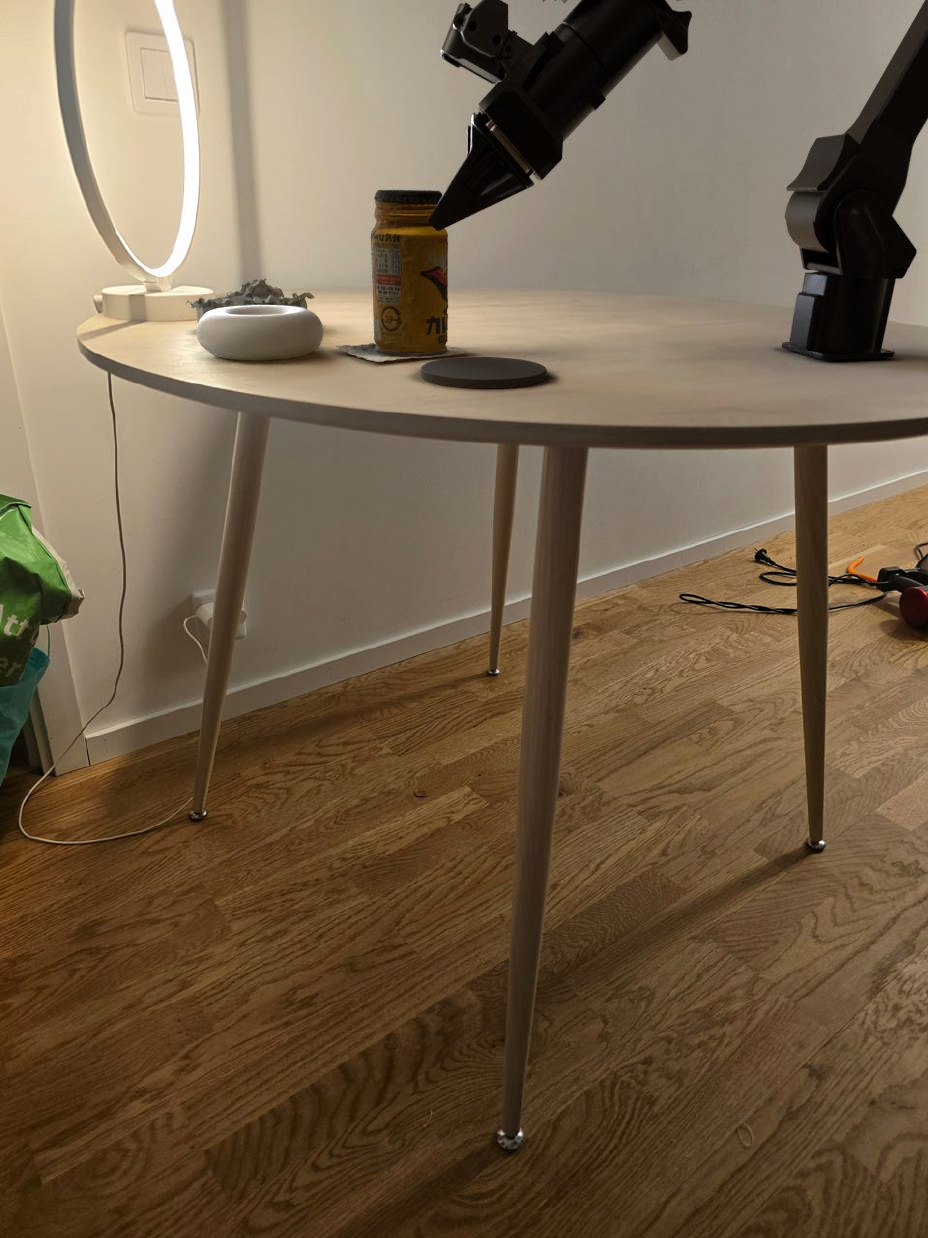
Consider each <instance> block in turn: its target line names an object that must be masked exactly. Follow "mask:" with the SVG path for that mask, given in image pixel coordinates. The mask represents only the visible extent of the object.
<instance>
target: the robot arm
mask: <svg viewBox="0 0 928 1238" xmlns="http://www.w3.org/2000/svg"><path fill="white" fill-rule="evenodd" d="M546 1H547V0H541V2H542V3H545V2H546ZM556 1H557V0H554V2H556ZM560 1H561V2H562V3H563V4H566V3H567V2H568V1H569V0H560ZM679 1H682V0H676V2H679ZM692 18H693V12H692V11H691V10H683V11H680V10H675V9H673V7H671V6H670V4H669V3H668V1H667V0H580V1H579V2H578V3H577V4H576V5H575V7H573V9H572V10H571V11H570V12H569V13H568V14H567V15H566V17H565V18H563V20H562V21H561V22H560V23H559V24H558V26H557V27H556V28H555V29H554V30H551V32H550V33H548V31H545V32H544V33H543V34H542V35H541V36H540V37H539V38H538V40H537V41H535V42H534V44H532V43H531V42H529V41H528V40H526V39H524V38H522V37H521V36H520V35H519V33H518V31H515V30H514V29H512V30H511V29H509V4H508V3H506V2H505V1H503V0H480V2H478V3H477V4H476V5H475V6H474V7H471V4H469V3H468V2H467V1H465V2H464V3H462V2H461V3H459V4H458V6H457V9H456V10H455V14H454V15H453V18H452V20H451V24H450V26H449V28H448V31H447V33H446V36H445V38H444V41H443V43H442V46H441V49H440V53H441V54H440V58H441V59H442V60H444V61H445V62H446V63H448V64H449V65H451V66H454V67H455V68H456V69H458V68H462V69H464V70H466V71H468V72H470V73H471V74H473V75H475V76H477V77H479V78H480V79H482V80H484V81H486V82H488V83H489V84H491V85H493V86H492V88H491V89H490V90H489V91H488V93H486V95H485V96H484V97H483V98H482V99H481V100H480V102H478V103H477V105H476V109H477V110H478V112H477V113H476V112H473V113H472V115H471V117H470V124H468V125H467V128H466V156H465V158H464V160H463V162H462V163H461V165H460V166H459V168H458V169H457V171H456V173H455V175H454V176H453V178H452V179H451V181H450V183H449V184H448V186H447V187H446V189H445V191H444V192H443V193H442V195H443V196H442V198H441V199H440V201H439V202H438V204H437V206H436V207H435V209H434V210H433V212H432V214H431V215H430V217H429V219H428V221H429V223H430V224H431V225H432V227H433V228H434V229H435V230H436V231H440V230H443V229H447V228H449V227H451V226H453V225H455V224H457V223H459V222H461V221H463V220H465V219H467V218H469V217H472V216H473V215H476V214H478V213H479V212H482V211H484V210H486V209H488V208H490V207H492V206H494V205H496V204H499V203H501V202H502V201H505V200H507V199H509V198H511V197H513V196H515V195H517V194H519V193H521V192H524V191H526V190H528V189H530V188H533V186H535V182H534V181H533V179H532V178H531V176H533V177H534V178H535V179H536V180H537V182H542V181H543V180H544V179H545V178H546V177H547V176H548V175H549V174H550V173H551V172H552V171H553V170H554V169H555V167H557V165H558V164H559V163H560V162H561V161H562V160H563V153H564V142H565V141H566V140H567V139H568V138H569V137H570V136H571V135H572V134H573V132H575V130H576V129H577V128H579V126H580V125H581V124H582V123H583V122H584V121H585V120H586V119H587V118H588V117H589V116H590V115H591V114H592V113H594V112H596V111H597V110H598V109H599V108H600V107H601V106H602V104H604V102H606V100H607V97H608V96H609V94H610V93H611V92H612V91H614V89H615V88H616V87H617V86H618V85H620V83H621V82H622V81H623V80H624V79H625V77H626V76H627V75H628V74H630V73H631V71H632V70H633V69H634V68H635V67H636V66H637V65H638V64H639V63H640V62H641V61H642V60H643V58H644V57H645V56H646V55H648V53H649V52H650V51H651V50H652V49H653V48H654V47H655V46H656V45H657V46H658V47H659V49H660V50H661V52H662V53H663V55H664V56H665V57H666V59H668V60H669V61H671V62H672V61H675V60H676V59H678V58H680V57H682V56H684V55H686V54H687V52H688V50H689V27H690V24H691V20H692ZM927 122H928V0H924V1H923V3H922V5H921V6H920V8H919V10H918V12H917V14H916V15H915V17H914V18H913V20H912V22H911V23H910V26H909V28H908V29H907V31H906V32H905V34H904V36H903V38H902V39H901V41H900V43H899V45H898V47H897V48H896V50H895V52H894V54H893V55H892V57H891V59H890V61H889V62H888V64H887V66H886V68H885V69H884V71H883V73H882V74H881V76H880V78H879V80H878V81H877V83H876V85H875V87H874V88H873V91H872V92H871V94H870V96H869V97H868V99H867V101H866V103H865V104H864V106H863V108H862V109H861V111H860V113H859V115H858V117H857V118H856V119H855V120H854V121H853V123H852V124H851V126H849V128H847V130H846V131H845V132H843V133H840V134H833V135H826V136H820V137H816V138H815V140H814V141H813V143H812V144H811V146H810V148H809V150H808V154H807V156H806V159H805V161H804V164H803V166H802V168H801V170H800V172H798V174H797V176H796V178H795V179H794V180H792V182H790V183H789V184H788V185H787V186H786V187H785V190H786V192H792V194H791V196H790V197H789V199H788V202H787V205H786V207H785V212H784V220H785V224H786V230H787V233H788V235H789V237H790V239H791V240H792V242H793V243H795V244H796V245H797V246H798V248H799V254H800V261H801V265H802V269H803V270H806V271H812V272H804V276H803V282H802V289H801V291H799V292H798V293H797V295H796V299H795V305H794V310H793V317H792V323H791V329H790V333H789V334H790V336H789V341H782V343H781V349H785V350H788V351H791V352H795V353H799V354H802V355H806V356H808V357H812V358H815V359H820V360H825V361H834V360H835V361H836V360H837V361H838V360H861V359H862V360H863V359H887V358H894V356H895V351H894V350H890V349H887V348H882V347H883V345H884V339H885V334H886V330H887V325H888V319H889V314H890V310H891V305H892V301H893V296H894V291H895V286H896V281H897V280H901V279H904V278H905V276H906V274H907V272H908V271H909V269H910V267H911V265H912V263H913V261H914V260H915V258H916V256H917V254H918V249H917V248H916V246H915V245H914V243H913V242H912V241H911V240H910V238H909V237H908V235H907V234H906V233H905V231H904V230H903V228H902V227H901V226H900V224H899V223H898V222H897V220H896V219H895V217H894V216H893V215H894V213H895V211H896V209H897V206H898V204H899V202H900V200H901V197H902V194H903V193H904V191H905V189H906V185H907V182H908V176H909V171H910V164H911V160H912V154H913V149H914V146H915V144H916V140H917V138H918V136H919V135H920V133H921V131H922V129H923V128H924V127H925V125H926V124H927Z"/></svg>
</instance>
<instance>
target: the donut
mask: <svg viewBox="0 0 928 1238" xmlns="http://www.w3.org/2000/svg"><path fill="white" fill-rule="evenodd" d="M195 331H196V334H195V335H196V338H197V341H198V343H199V345H200V346H201V347H202V348H203V349H204V350H205V351H206V352H207V353H209V354H210V355H213V356H215V357H217V358H223V359H228V360H237V361H274V360H285V359H286V360H287V359H293V358H298V357H299V358H300V357H303V356H306V355H308V354H310V353H312V352H314V351H317V349H318V348H319V347H320V346H321V344H322V342H323V339H324V328H323V323H322V321H321V319H320V317H319V316H318V315H317V314H316V313H315V312H314V311H312V310H310V309H308V308H307V309H305V308H300V307H293V306H282V305H247V306H233V307H225V308H218V309H214V310H211V311H209V312H207V313H205V314H204V315H203V317H202V318H201V319H200V320H199V322H198V324H197V325H196V330H195Z"/></svg>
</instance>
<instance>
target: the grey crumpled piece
mask: <svg viewBox="0 0 928 1238" xmlns="http://www.w3.org/2000/svg"><path fill="white" fill-rule="evenodd" d="M266 281H267V278H264V277H263V278H262V279H261V278H260V279H259V280H258V279H253V280H252V281H247V282H246V283H244V284H241V286H240V289H239V291H238V290H236V291H233V290H231V291H228V292H227V294H226V295H224V296H220V297H217V298H213V297H211V298H208V299H204V298H203V297H202V296H200V297H199V298H198V300H196V299H195V300H194V301H192V302H191V301H190V300H186V302H185V304H186V305H187V304H189V305H190V306H191V309H195V315H196V321H197V322H196V323H197V325H198V322H199V320H200V319H201V318H202V317H203V315H204V314H205V313H207V312H209V311H211V310H214V309H218V308H225V307H233V306H247V305H282V306H293V307H300V308H305V309H307V310H308V303H307V300H306V298H307V299H309V300H313V299H315V296H314V295H313V294H312V293H311V292H310V291H308V292H303V293H301V294H299V295H298V293H296V292H294V293H291V297H289V296H286V297H285V295H284V292H283V290H282V289H281V287H279V286H272V285H270V284H267V283H266Z"/></svg>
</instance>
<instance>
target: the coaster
mask: <svg viewBox="0 0 928 1238" xmlns="http://www.w3.org/2000/svg"><path fill="white" fill-rule="evenodd" d="M420 376H421V378H422V379H423V380H424V381H427V382H429V383H433V384H437V385H441V386H445V387H455V388H464V389H509V388H520V387H526V386H527V387H528V386H531V385H536V384H538V383H539V384H540V383H541V382H544V381H545V380H546V379H547V367H546V366H545V365H544V364H541V363H538V362H535V361H531V360H527V359H520V358H513V357H512V358H511V357H500V356H499V357H498V356H466V357H465V356H462V357H461V356H460V357H450V358H441V359H436V360H432V361H428V362H426V363H424V364H422V365H421V367H420Z"/></svg>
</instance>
